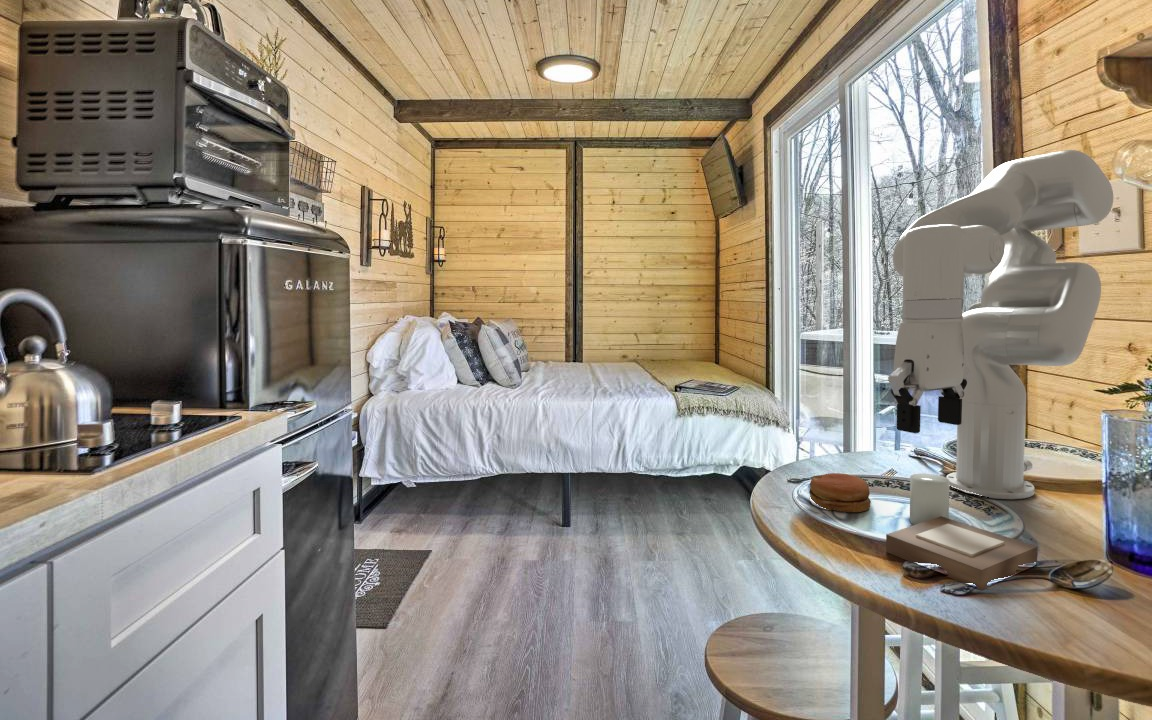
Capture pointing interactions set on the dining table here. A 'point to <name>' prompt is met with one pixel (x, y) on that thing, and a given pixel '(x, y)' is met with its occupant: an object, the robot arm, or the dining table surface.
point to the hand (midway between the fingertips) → (929, 427)
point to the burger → (840, 492)
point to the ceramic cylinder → (928, 497)
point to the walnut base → (961, 550)
